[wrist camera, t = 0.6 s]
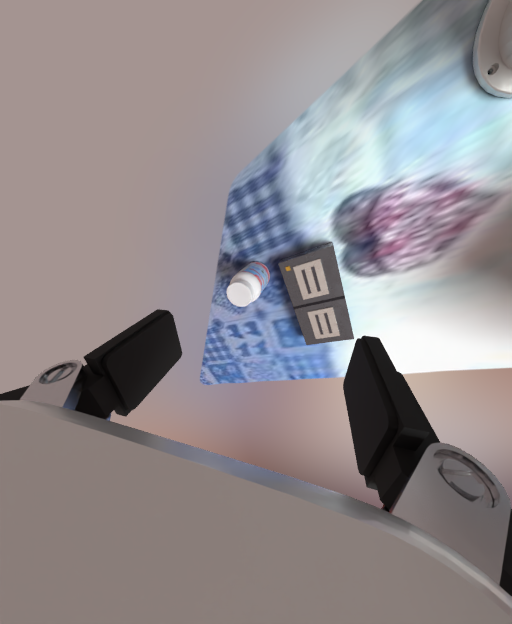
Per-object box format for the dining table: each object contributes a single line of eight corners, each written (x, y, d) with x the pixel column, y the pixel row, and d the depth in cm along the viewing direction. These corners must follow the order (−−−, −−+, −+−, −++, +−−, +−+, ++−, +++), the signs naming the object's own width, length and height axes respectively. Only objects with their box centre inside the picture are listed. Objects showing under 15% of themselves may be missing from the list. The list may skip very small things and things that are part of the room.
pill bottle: (275, 278, 41) (262, 301, 32) (254, 291, 44) (237, 315, 35) (259, 255, 39) (241, 271, 30) (238, 270, 42) (216, 289, 33)
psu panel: (280, 259, 38) (277, 264, 36) (332, 242, 34) (333, 245, 31) (307, 337, 46) (306, 346, 43) (351, 330, 42) (354, 339, 39)
